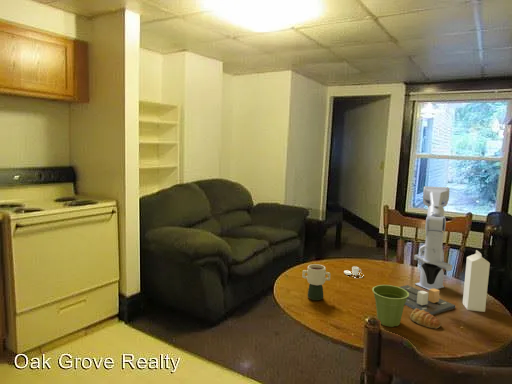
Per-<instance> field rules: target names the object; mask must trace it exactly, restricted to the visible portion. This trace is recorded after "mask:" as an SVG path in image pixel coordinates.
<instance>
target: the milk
mask: <svg viewBox="0 0 512 384" xmlns="http://www.w3.org/2000/svg"><path fill="white" fill-rule="evenodd" d="M490 265H491V263H490V262H489V261H488V260H487V259H485V258H484V257H483V255H482V253H481V252H480V251H479V250H477V249H476V250H475V253H474V254H471V255H468V256H466V263H465V272H464V273H465V274H464V284H463V294H462V295H463V296H462V304H463V306H464V308H465V309H466V310H467V311H473V312H481V313H482V312H484V313H485V312H486V306H487V305H486V304H487V295H488V285H489V276H490Z"/></svg>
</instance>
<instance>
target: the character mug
mask: <svg viewBox="0 0 512 384" xmlns="http://www.w3.org/2000/svg"><path fill="white" fill-rule="evenodd" d="M326 270H327V269H326V266H325V265H322V264H316V263H313V264H309V265H308V266H307V270H306V269H303V270H302V274H301V275H302V278H303V279H306V280H307V283H308V284H309V285H308V290H307V298H308V299H310V300H313V301H321V300H323V299H324V297H325V296H324V286H323V285H324V284H325V282H326V281H330V280H331V272H328V271H326ZM306 274H307V275H306ZM326 275H327V277H326Z"/></svg>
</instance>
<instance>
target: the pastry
mask: <svg viewBox="0 0 512 384" xmlns="http://www.w3.org/2000/svg"><path fill="white" fill-rule="evenodd" d="M434 315H435V314H434ZM434 315H431V314H430V313H429V312H426V311H424V310H420V309H413V310H412V312H411V314H410V315H409V316H410V319H411V320H412V322H413V323H416V324H417V325H420V326H423V327H426V328H429V329H438V328H440V327H441V325H442V323H441V321H440V320H439V319H438V318H437V317H435V316H434Z"/></svg>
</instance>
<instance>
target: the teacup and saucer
mask: <svg viewBox="0 0 512 384" xmlns="http://www.w3.org/2000/svg"><path fill="white" fill-rule="evenodd" d="M359 271H360V272H359ZM351 272H352V273H351ZM343 273H344V274H345V275H346V276H347V275H350V276H351V275H352V276H353V277H354V279H357V278H356V277H357V276H359V278H358V279H362V278H364V277H363V276H365V275H364V274H363V276H362V277H361V276H360V273H361V274H362V269H361V268H360V267H358V266H352V267H351V271H350V270H348V269H347V270H344V271H343ZM358 273H359V274H358ZM354 275H355V276H354Z"/></svg>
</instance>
